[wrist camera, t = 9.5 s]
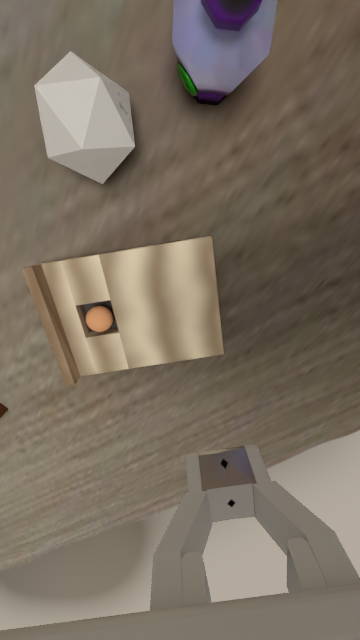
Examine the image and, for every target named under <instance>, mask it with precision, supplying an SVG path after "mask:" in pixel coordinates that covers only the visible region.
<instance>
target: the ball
mask: <svg viewBox="0 0 360 640" xmlns="http://www.w3.org/2000/svg"><path fill="white" fill-rule="evenodd" d="M86 323H87V325H88V327H89V328H90V329H92V330H93V331H96V332H103V331H105V330H107V329H109V328H110V327H111V325H112V323H113V315H112V312H111V311H110V310H109V309H108V308H106V307H104V306H95V307H92V308H91V309H90V310H89V311H88V312H87V314H86Z"/></svg>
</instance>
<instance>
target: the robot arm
mask: <svg viewBox="0 0 360 640" xmlns="http://www.w3.org/2000/svg"><path fill="white" fill-rule="evenodd" d="M186 465H187V480H188V493H186V494H184V496H183V498H182V500H181V502H180V504H179V506H178V508H177V510H176V512H175V514H174V516H173V518H172V520H171V522H170V524H169V526H168V528H167V530H166V532H165V534H164V536H163V538H162V540H161V542H160V544H159V546H158V547H157V550H156V551H155V553H154V555H153V569H152V587H151V604H150V611H146V612H138V613H130V614H124V615H115V616H108V617H100V618H92V619H85V620H78V621H70V622H62V623H54V624H47V625H40V626H33V627H24V628H17V629H9V630H2V631H0V640H360V578H359V576H358V574H357V572H356V570H355V569H354V567H353V565H352V563H351V561H350V559H349V558H348V556H347V554H346V552H345V550H344V548H343V546H342V545H341V543H340V541H339V539H338V537H337V535H336V534H335V532H334V531H333V530H332V529H331V528H330V527H328V526H327V525H326V524H325V523H324V522H322V521H321V520H320V519H319V518H318V517H317V516H316V515H314V514H313V513H312V512H311V511H310V510H308V509H307V508H306V507H305V506H303V505H302V504H301V503H300V502H299V501H298V500H297V499H296V498H294V497H293V496H292V495H291V494H290V493H288V492H287V491H286V490H285V489H284V488H283V487H282V486H280V485H279V484H278V483H277V482H276V481H271V480H270V477H269V475H268V472H267V470H266V467H265V465H264V462H263V460H262V457H261V455H260V452H259V450H258V447H257V446H256V445H255V444H254V445H248V446H239V447H233V448H227V449H221V450H216V451H207V452H199V453H191V454H186ZM246 517H255V518H256V519H257V520H258V522H259V523H260V524H261V525H262V526H263V528H264V529H265V530H266V531H267V532H268V533H269V535H270V536H271V537H272V539H273V540H274V541H275V542H276V543H277V545H278V546H279V547H280V548H281V549H282V551H283V552H284V553H285V554H286V555H287V588H288V591H289V593H283V594H276V595H268V596H259V597H253V598H244V599H237V600H230V601H221V602H214V603H211V597H210V592H209V587H208V582H207V577H206V572H205V567H204V562H203V557H202V555H203V552H204V549H205V545H206V542H207V539H208V536H209V533H210V530H211V526H212V522H218V521H223V520H229V519H236V518H246Z"/></svg>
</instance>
